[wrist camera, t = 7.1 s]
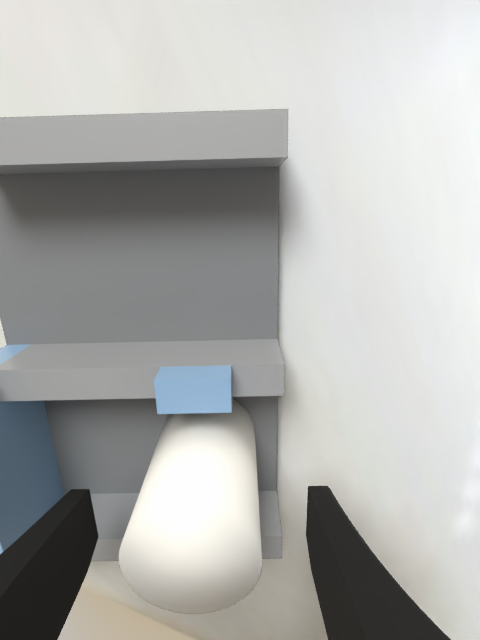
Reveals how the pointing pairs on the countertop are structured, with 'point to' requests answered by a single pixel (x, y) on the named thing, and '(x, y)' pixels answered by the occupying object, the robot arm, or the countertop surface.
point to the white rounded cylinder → (197, 516)
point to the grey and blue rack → (134, 301)
